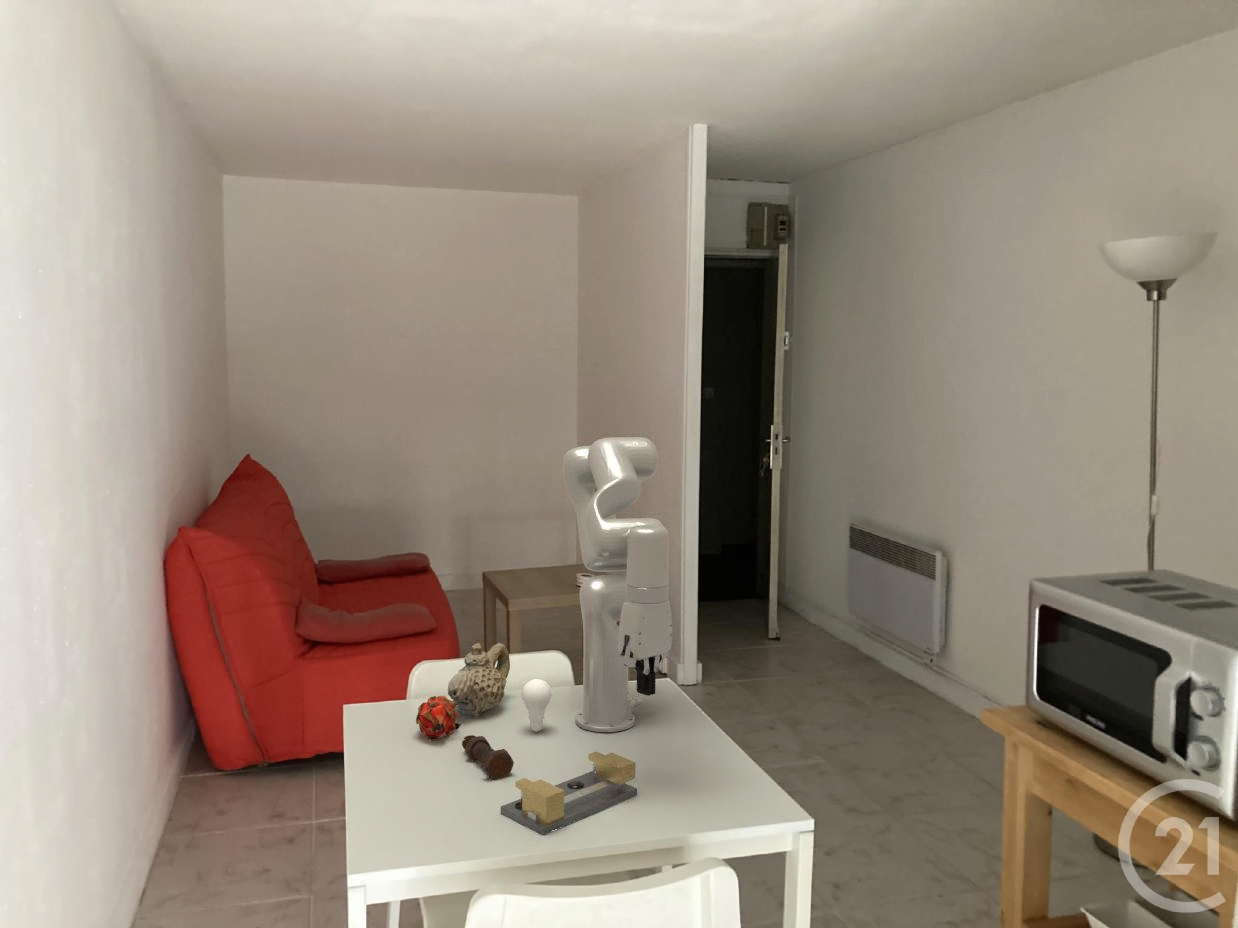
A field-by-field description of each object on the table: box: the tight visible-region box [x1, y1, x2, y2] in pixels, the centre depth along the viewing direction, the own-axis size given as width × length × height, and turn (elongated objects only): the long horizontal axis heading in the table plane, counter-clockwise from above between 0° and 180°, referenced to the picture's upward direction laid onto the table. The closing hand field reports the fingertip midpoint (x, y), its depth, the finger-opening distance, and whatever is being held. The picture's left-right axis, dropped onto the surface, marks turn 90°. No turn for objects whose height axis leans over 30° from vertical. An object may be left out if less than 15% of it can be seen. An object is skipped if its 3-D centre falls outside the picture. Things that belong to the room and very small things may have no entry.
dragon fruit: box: [415, 695, 462, 742], centre depth 207 cm, size 8×8×12 cm
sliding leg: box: [587, 751, 637, 785], centre depth 182 cm, size 4×9×4 cm, turn 45°
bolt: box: [461, 734, 515, 781], centre depth 193 cm, size 6×5×15 cm
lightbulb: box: [521, 678, 552, 733], centre depth 209 cm, size 6×6×11 cm
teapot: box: [447, 642, 511, 717], centre depth 221 cm, size 21×12×15 cm, turn 155°
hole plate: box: [500, 770, 638, 836], centre depth 176 cm, size 22×11×6 cm, turn 135°
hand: (645, 692), depth 185 cm, fingers closed
